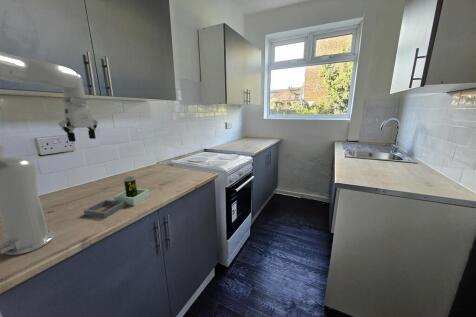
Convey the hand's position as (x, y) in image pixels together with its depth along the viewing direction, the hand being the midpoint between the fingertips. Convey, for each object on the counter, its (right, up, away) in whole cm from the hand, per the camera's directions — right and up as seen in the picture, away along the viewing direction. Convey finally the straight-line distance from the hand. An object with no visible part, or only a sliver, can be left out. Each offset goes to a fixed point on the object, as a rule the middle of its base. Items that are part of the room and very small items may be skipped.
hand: (83, 139), depth 93 cm
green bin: (+17, -31, +13) cm, 38 cm away
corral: (+10, -34, +1) cm, 35 cm away
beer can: (+17, -31, +12) cm, 37 cm away
